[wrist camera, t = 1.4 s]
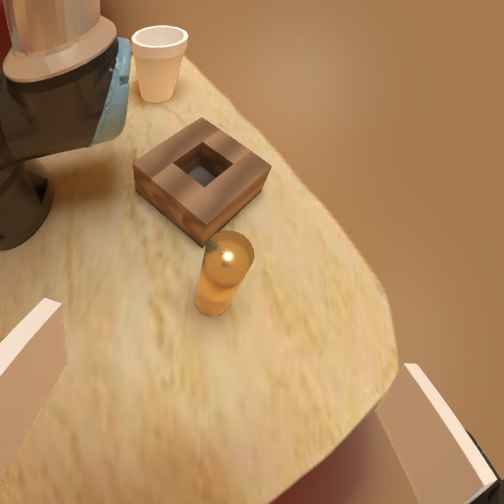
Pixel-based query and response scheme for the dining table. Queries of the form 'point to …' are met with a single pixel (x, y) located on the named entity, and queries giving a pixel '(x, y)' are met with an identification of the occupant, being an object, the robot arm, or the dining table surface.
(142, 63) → the foam cup
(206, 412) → the dining table surface
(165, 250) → the dining table surface
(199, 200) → the walnut socket block
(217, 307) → the brass peg
